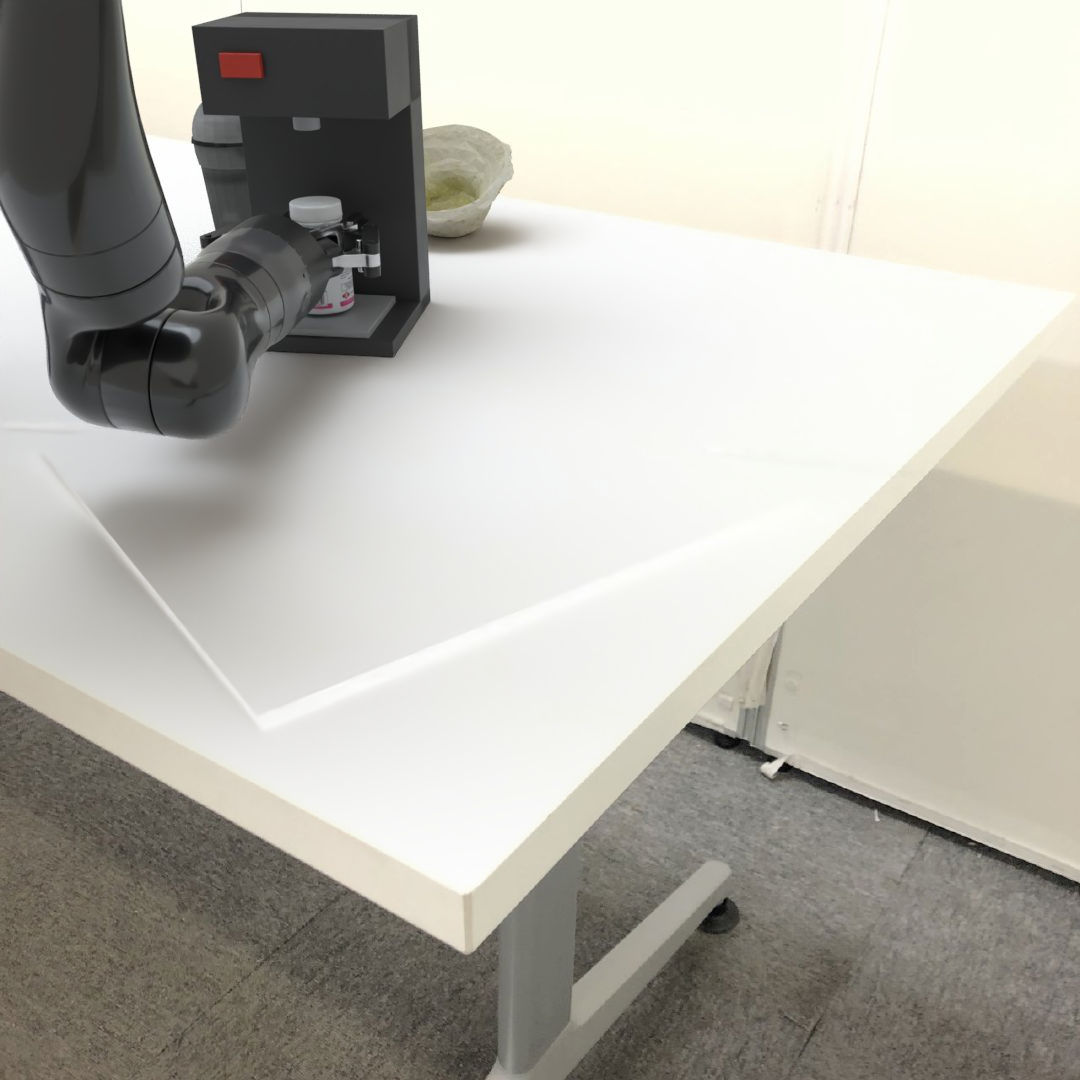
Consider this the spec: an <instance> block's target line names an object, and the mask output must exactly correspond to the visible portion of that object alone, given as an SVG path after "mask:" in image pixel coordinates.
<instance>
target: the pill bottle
mask: <svg viewBox="0 0 1080 1080" xmlns="http://www.w3.org/2000/svg"><path fill="white" fill-rule="evenodd" d="M289 209H290V218H291V220H293V221H295V222H297V223H299V224H300V225H302V226H303V227H308V228H312V227H314V226H317V225H320V224H323V223H325V222H328V223H336V224H341V222H340V221H341V220H342V215H343V214H342V208H341V201H340V200H339V199H338V198H335V197H328V196H310V197H302V198H297V199H294V200H292V201H290V202H289ZM353 304H354V290H353V278H352V267H347V268H344V271H343V272H342V274H340V275H339V276H336V277H333V278H330V279H329V281H328V284H327V286H326V289H325V291H324V294H323V296H322V297H321V299H320V301H319V302H318V303H317V305H316V306H315V307H314V308H313V309H312V310H311V311H310V312H309V313H308V314H318V315H321V314H332V313H339V312H343V311H346V310H348V309H350V308H351V307H352V306H353Z"/></svg>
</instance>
